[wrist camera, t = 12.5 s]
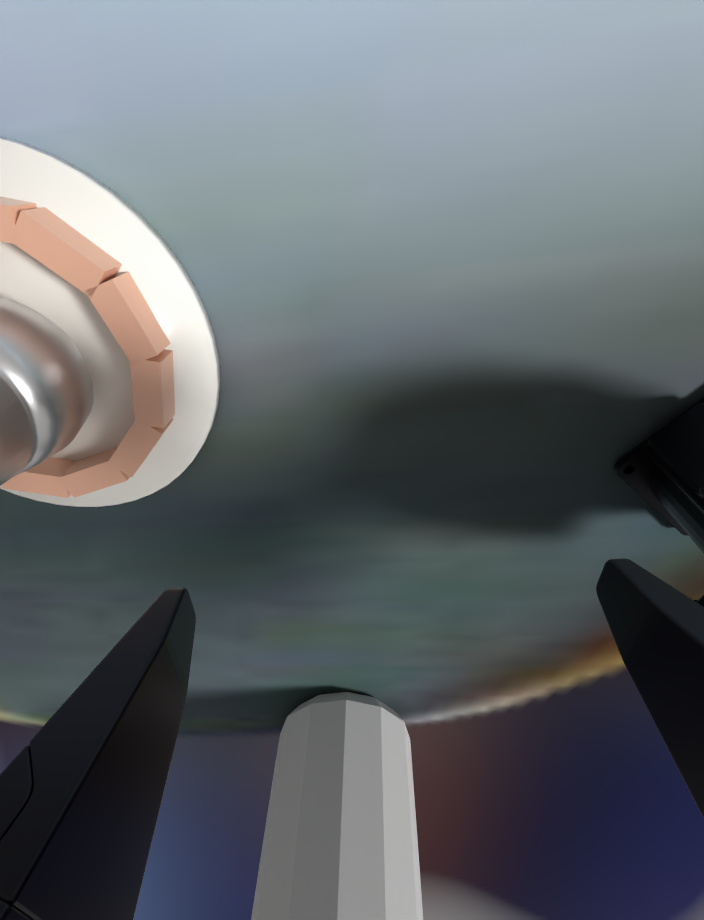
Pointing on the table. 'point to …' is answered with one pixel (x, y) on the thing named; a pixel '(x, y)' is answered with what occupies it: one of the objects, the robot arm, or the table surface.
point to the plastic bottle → (38, 389)
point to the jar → (341, 816)
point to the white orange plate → (107, 330)
